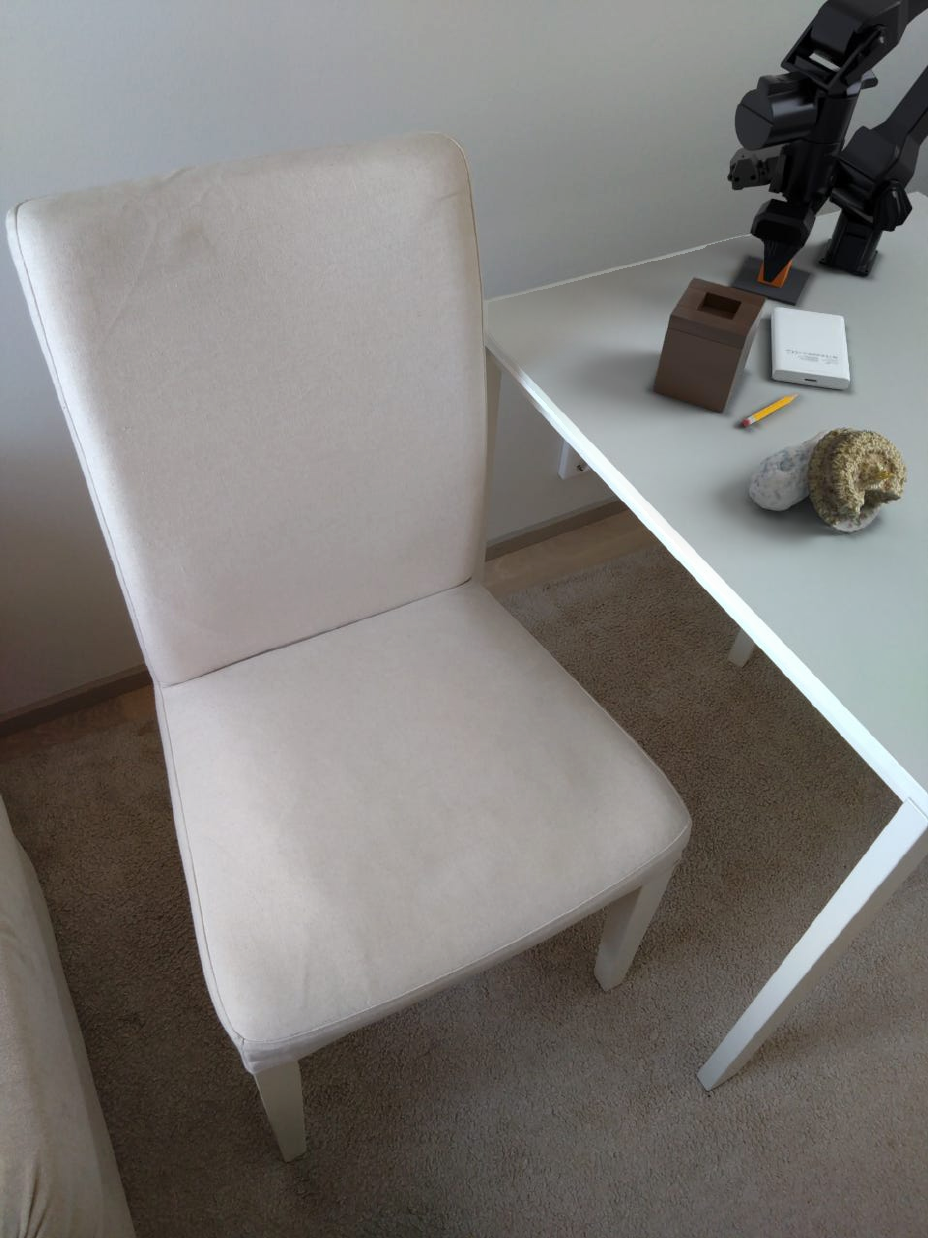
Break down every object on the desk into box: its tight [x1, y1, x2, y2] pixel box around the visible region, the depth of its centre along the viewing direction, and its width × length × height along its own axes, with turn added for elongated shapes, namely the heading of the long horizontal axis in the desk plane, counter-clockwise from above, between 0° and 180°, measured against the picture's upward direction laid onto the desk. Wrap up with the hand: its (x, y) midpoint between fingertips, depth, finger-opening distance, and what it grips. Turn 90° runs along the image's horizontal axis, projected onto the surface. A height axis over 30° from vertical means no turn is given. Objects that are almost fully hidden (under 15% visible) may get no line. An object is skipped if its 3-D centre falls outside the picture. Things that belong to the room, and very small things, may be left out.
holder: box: [652, 276, 768, 414], centre depth 97 cm, size 8×8×10 cm
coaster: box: [731, 255, 811, 306], centre depth 114 cm, size 8×8×1 cm
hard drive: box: [770, 306, 851, 390], centre depth 104 cm, size 2×8×12 cm
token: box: [757, 257, 794, 288], centre depth 113 cm, size 3×3×4 cm
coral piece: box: [807, 427, 908, 533], centre depth 84 cm, size 10×10×5 cm
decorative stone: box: [748, 429, 835, 512], centre depth 89 cm, size 13×7×5 cm, turn 124°
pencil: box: [742, 393, 798, 428], centre depth 98 cm, size 1×9×1 cm, turn 128°
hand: (776, 263), depth 113 cm, fingers open, 9 cm apart
